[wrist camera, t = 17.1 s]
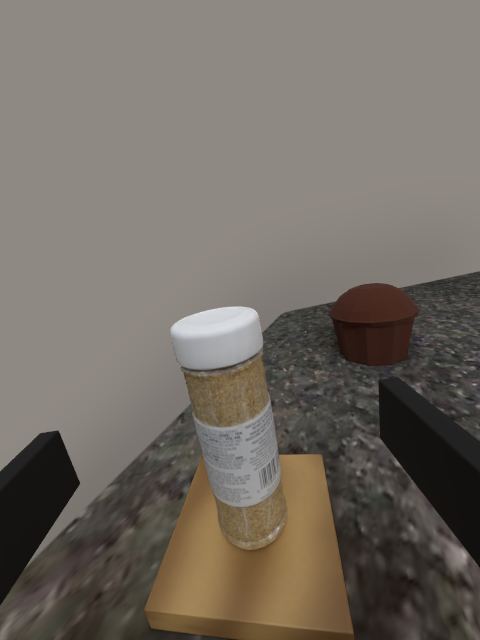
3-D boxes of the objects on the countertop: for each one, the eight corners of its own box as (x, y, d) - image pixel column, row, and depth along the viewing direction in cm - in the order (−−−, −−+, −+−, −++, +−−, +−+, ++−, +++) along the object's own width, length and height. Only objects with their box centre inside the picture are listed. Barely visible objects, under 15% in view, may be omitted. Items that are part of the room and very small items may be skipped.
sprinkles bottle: (253, 473, 20) (221, 302, 16) (303, 511, 17) (277, 306, 13) (204, 519, 17) (152, 324, 14) (253, 576, 14) (201, 337, 10)
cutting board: (150, 629, 14) (143, 610, 13) (205, 469, 23) (201, 455, 23) (355, 656, 12) (354, 634, 11) (323, 469, 21) (321, 453, 21)
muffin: (356, 334, 47) (353, 278, 44) (430, 345, 38) (432, 277, 35) (316, 359, 40) (311, 294, 37) (396, 379, 31) (395, 298, 29)
